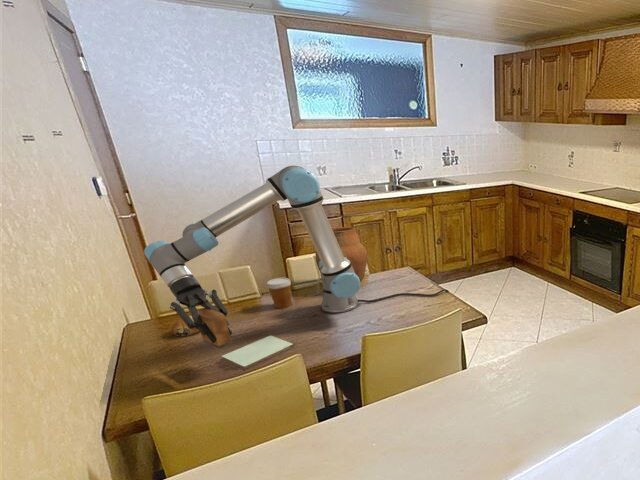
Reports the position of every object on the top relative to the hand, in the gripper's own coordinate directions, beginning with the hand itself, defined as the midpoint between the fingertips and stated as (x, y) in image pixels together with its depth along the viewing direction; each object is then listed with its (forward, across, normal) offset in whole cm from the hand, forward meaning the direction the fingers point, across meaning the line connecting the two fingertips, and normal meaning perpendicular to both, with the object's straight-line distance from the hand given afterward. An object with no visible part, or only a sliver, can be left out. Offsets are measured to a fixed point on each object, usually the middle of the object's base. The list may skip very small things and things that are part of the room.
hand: (222, 337), depth 141 cm
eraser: (-1, 0, -5) cm, 5 cm away
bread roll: (-22, -8, -40) cm, 46 cm away
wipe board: (+7, -11, -11) cm, 17 cm away
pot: (-13, -74, -31) cm, 81 cm away
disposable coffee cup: (-16, -42, -34) cm, 56 cm away
